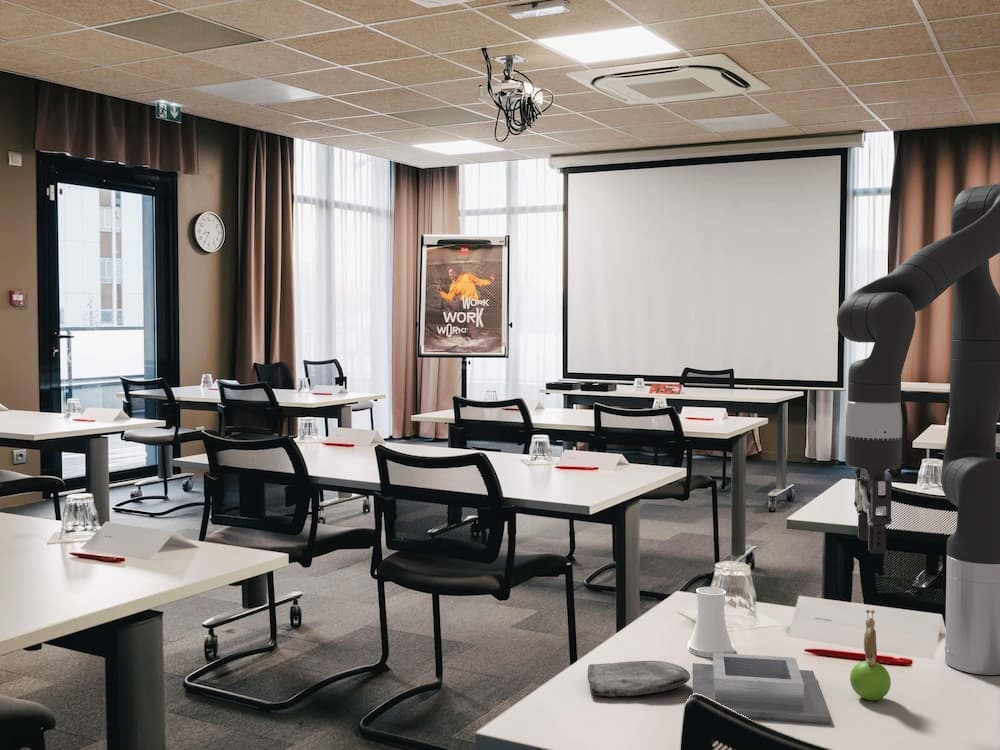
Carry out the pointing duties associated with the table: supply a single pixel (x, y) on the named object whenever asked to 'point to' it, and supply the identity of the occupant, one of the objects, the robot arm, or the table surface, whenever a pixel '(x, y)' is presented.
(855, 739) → the table surface
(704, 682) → the collar block
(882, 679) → the snail figurine
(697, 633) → the white flared stand
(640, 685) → the stone
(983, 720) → the table surface
